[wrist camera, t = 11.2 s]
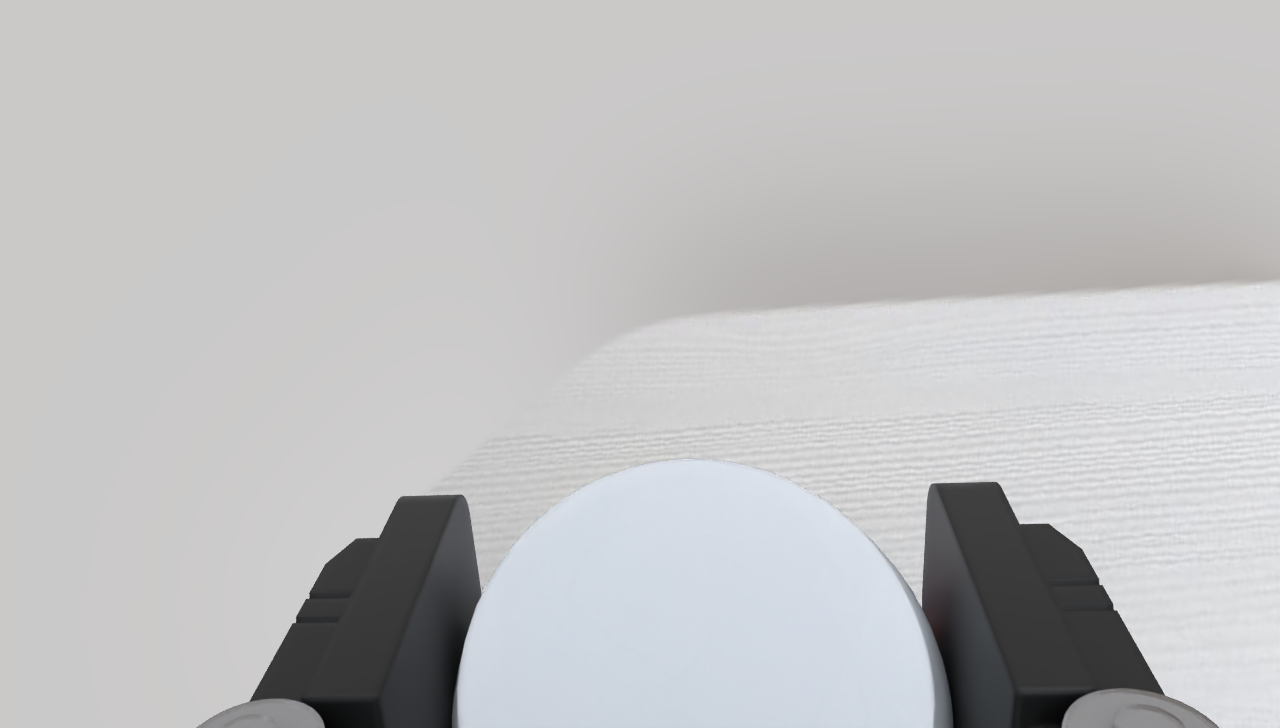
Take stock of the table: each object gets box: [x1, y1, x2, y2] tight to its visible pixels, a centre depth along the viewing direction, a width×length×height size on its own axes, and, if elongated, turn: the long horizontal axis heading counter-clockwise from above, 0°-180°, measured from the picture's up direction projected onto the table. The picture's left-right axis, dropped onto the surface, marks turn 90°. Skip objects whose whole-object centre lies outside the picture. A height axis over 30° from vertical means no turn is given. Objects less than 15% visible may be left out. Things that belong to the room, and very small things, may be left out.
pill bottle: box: [452, 459, 954, 728], centre depth 13 cm, size 5×5×10 cm
